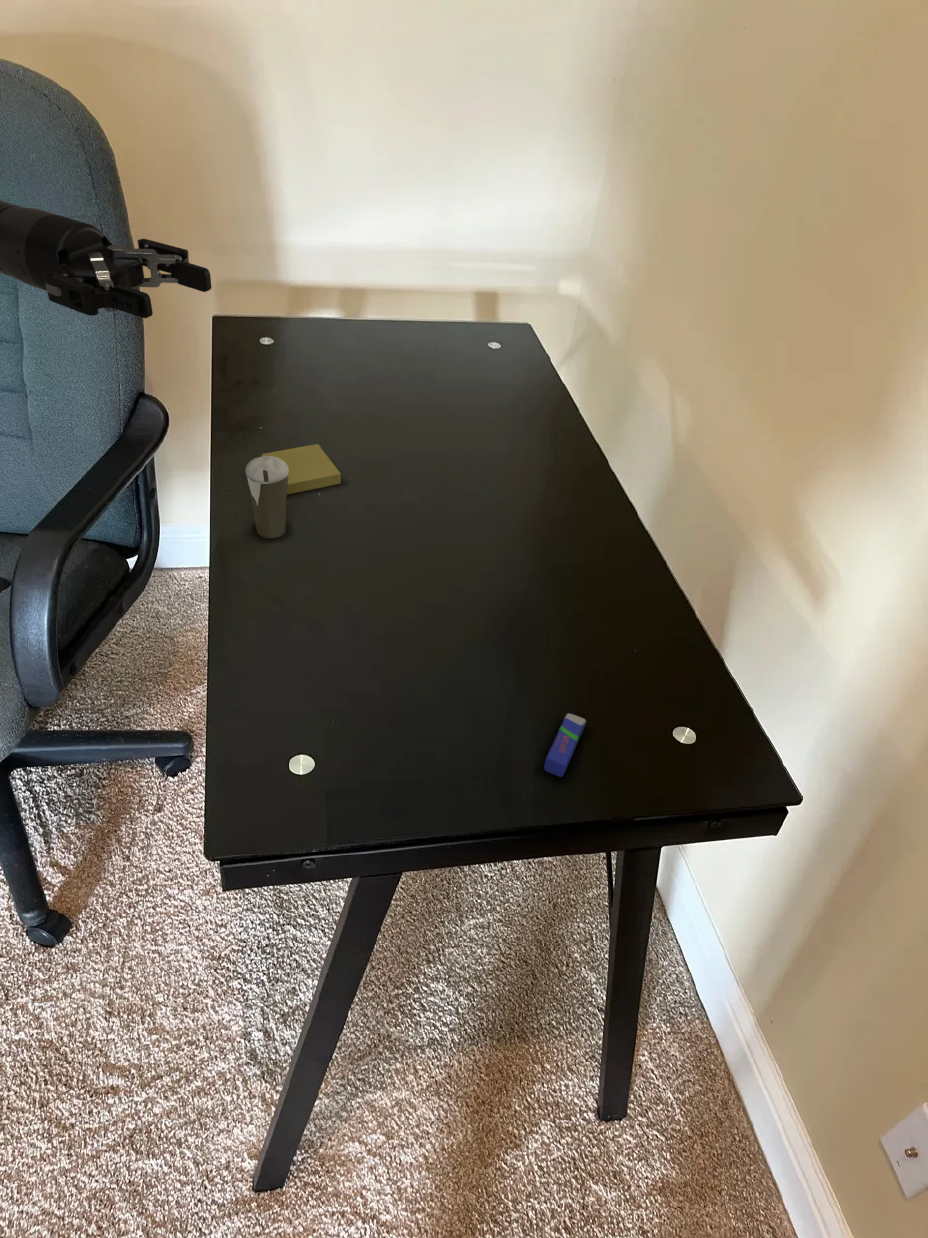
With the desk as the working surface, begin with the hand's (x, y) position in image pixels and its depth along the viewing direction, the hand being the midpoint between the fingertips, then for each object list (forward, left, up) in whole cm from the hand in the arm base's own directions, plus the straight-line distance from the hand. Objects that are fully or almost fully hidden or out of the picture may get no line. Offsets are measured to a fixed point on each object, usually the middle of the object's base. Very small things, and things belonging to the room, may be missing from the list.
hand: (180, 293), depth 80 cm
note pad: (+11, +6, -25) cm, 28 cm away
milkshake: (+7, -6, -25) cm, 27 cm away
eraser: (+30, -42, -25) cm, 57 cm away
